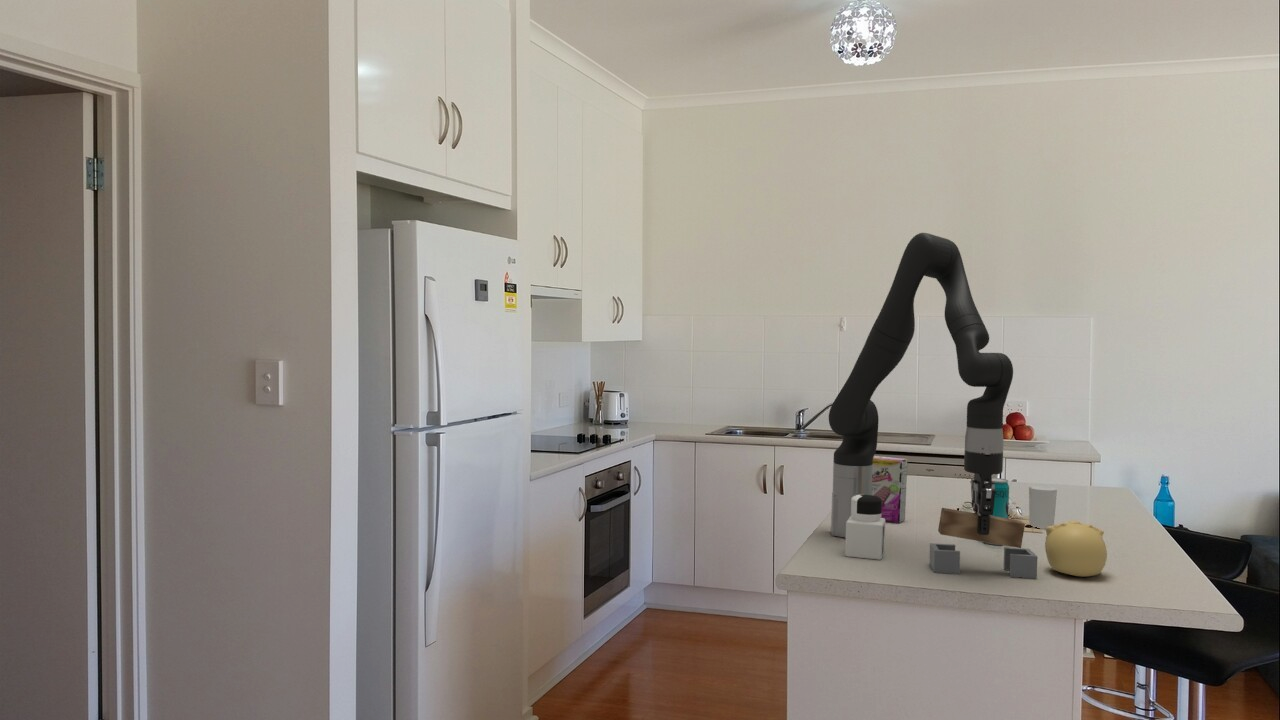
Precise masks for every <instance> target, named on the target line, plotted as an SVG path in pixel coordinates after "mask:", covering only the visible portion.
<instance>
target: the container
mask: <svg viewBox="0 0 1280 720" xmlns="http://www.w3.org/2000/svg"><path fill="white" fill-rule="evenodd" d="M881 513H882V500H881V499H880V498H879V497H877V496H873V495H856V496H854V497H852V498H851V515H852V516H850V517H849V519H848V520H847V522H846V538H845V542H844V543H845V551H844V556H845V557H848V558H849V557H850V558H859V559H871V560H877V561H878V560H879V561H880V560H882V558H883V556H884V554H885V543H886V541H885V539H886V522H885V519H884V518H880V517H881Z"/></svg>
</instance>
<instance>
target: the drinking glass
mask: <svg viewBox="0 0 1280 720" xmlns="http://www.w3.org/2000/svg"><path fill="white" fill-rule="evenodd" d="M1057 494H1058V489H1057V488H1055V487H1051V486H1046V485H1045V486H1044V485H1043V486H1042V485H1030V486H1029V487H1028V509H1029V513H1028V515H1029V516H1028V521H1029V523H1028V524H1029V525H1031V526H1033V527H1037V528H1040V529H1039V530H1046V527H1048V526H1053V525H1055V519H1056V518H1055V517H1056V504H1057ZM1037 528H1036V529H1037Z"/></svg>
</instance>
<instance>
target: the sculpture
mask: <svg viewBox="0 0 1280 720" xmlns="http://www.w3.org/2000/svg"><path fill="white" fill-rule="evenodd" d="M1045 531H1046V532H1045V533H1046V536H1045V540H1044V541H1045V543H1044V549H1045V554H1046V559H1047V562H1048V564H1049V566H1050V567H1051V568H1052V569H1053V570H1054V571H1056V572H1059V573H1061V574H1065V575H1068V576H1069V575H1071V576H1075V577H1093V576H1096V575H1098V574H1100V573H1101V572H1102V571H1103V569H1104V568H1105V566H1106V563H1107V559H1108V550H1107V545H1106V542H1105V541H1104V539H1103V536H1104V534H1105V532H1104V530H1102V529H1100V528H1097V526H1093V525H1092V524H1088V523H1082V522H1080V521H1077V520H1070V521H1067V522H1062V523H1058V524H1054V525H1053V526H1048V527H1046V529H1045Z"/></svg>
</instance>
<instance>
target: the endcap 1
mask: <svg viewBox="0 0 1280 720" xmlns="http://www.w3.org/2000/svg"><path fill="white" fill-rule="evenodd" d="M960 559H961V551H960V550H956V545H955V544H953V543H952V544H950V543H949V544H948V543H937V542H936V543H933V542H930V543H929V566H930V569H931V570H932V571H933V573H937V574H951V575H952V574H956V575H960V569H961V568H960V565H961V564H960V561H961V560H960Z"/></svg>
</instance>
